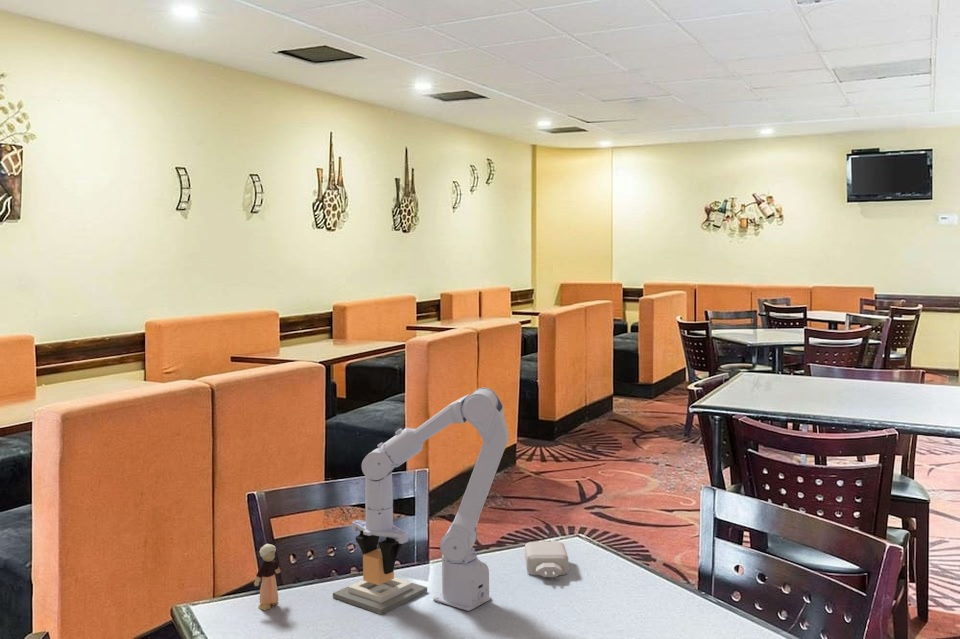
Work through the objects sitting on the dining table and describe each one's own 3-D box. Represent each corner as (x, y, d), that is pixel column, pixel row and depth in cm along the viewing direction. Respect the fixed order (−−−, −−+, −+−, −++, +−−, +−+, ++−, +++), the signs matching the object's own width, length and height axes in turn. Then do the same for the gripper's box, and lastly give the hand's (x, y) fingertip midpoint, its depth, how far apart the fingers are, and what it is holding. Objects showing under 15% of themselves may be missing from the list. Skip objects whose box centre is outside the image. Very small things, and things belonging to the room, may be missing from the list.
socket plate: (427, 591, 170) (427, 581, 170) (381, 614, 159) (381, 603, 159) (379, 577, 179) (379, 567, 178) (332, 597, 167) (332, 587, 167)
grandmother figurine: (269, 613, 160) (268, 550, 159) (251, 611, 161) (250, 549, 160) (286, 597, 168) (285, 538, 167) (269, 596, 168) (268, 537, 168)
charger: (529, 586, 173) (525, 561, 188) (571, 586, 173) (564, 561, 188) (529, 564, 173) (525, 541, 188) (571, 564, 173) (564, 541, 188)
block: (393, 578, 169) (393, 552, 168) (378, 585, 165) (378, 559, 165) (378, 573, 171) (377, 548, 171) (363, 580, 168) (362, 554, 167)
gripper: (341, 505, 169) (341, 568, 170) (391, 517, 160) (392, 583, 161) (364, 497, 174) (365, 558, 175) (414, 508, 166) (415, 573, 167)
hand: (379, 569), depth 168 cm, fingers closed on block, 4 cm apart
